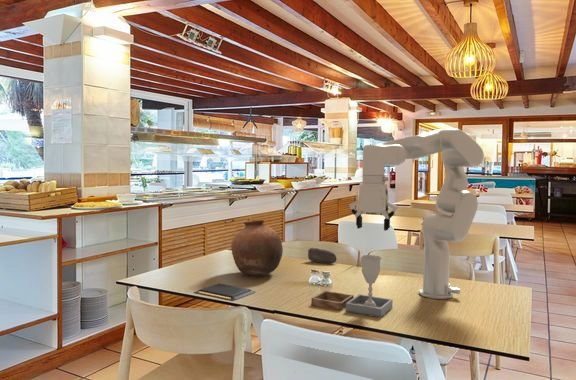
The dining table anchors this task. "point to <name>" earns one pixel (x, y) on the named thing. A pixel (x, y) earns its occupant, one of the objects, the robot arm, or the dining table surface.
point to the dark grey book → (225, 292)
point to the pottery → (256, 249)
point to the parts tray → (358, 306)
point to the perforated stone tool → (321, 255)
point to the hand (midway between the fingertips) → (372, 229)
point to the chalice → (370, 274)
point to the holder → (331, 304)
